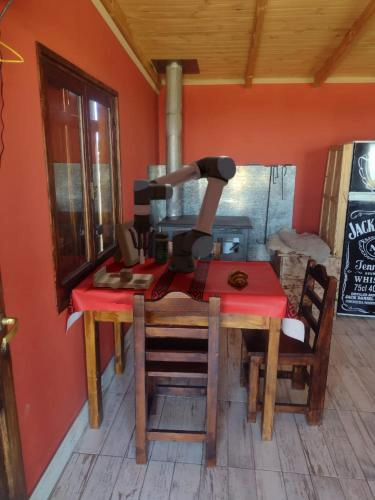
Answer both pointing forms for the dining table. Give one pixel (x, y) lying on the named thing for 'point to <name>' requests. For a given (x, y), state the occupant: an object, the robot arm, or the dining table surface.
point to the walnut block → (126, 275)
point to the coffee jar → (162, 247)
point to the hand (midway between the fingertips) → (142, 263)
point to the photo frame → (127, 244)
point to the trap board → (107, 281)
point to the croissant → (237, 277)
